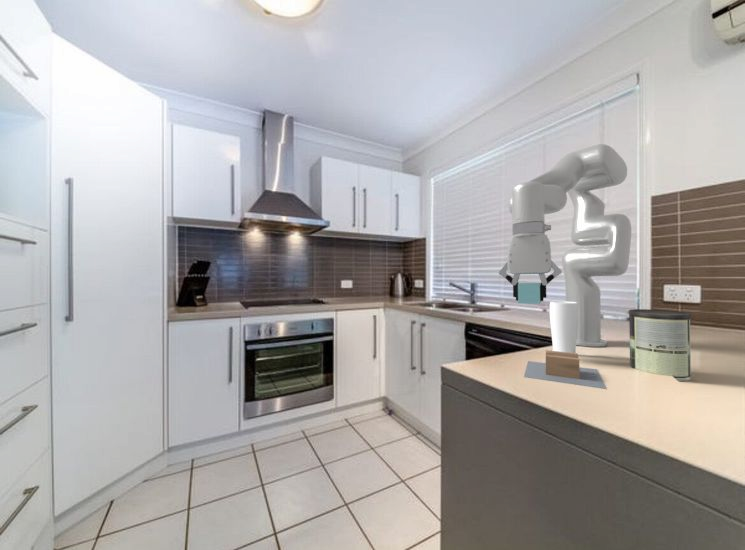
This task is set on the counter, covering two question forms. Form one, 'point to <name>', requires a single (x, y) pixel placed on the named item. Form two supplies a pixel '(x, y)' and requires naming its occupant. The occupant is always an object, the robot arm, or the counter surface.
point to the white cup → (564, 325)
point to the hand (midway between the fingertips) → (529, 299)
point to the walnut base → (562, 364)
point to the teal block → (529, 293)
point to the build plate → (585, 374)
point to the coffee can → (660, 342)
